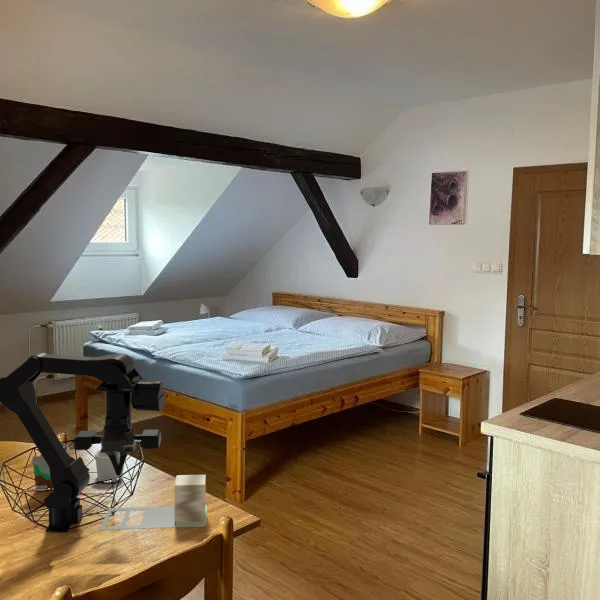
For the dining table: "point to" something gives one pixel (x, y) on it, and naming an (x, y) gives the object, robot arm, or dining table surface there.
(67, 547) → the dining table surface
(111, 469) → the cup
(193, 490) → the block
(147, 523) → the plate
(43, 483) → the food container
